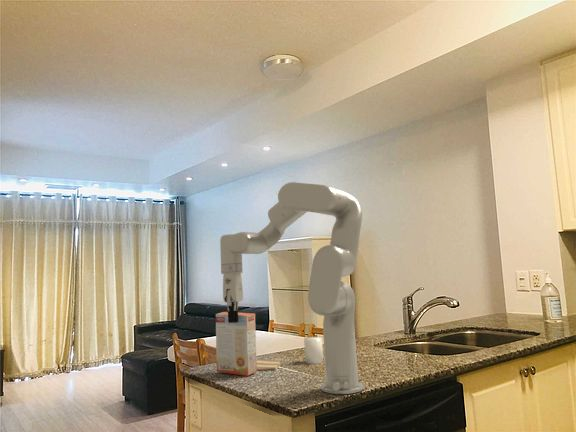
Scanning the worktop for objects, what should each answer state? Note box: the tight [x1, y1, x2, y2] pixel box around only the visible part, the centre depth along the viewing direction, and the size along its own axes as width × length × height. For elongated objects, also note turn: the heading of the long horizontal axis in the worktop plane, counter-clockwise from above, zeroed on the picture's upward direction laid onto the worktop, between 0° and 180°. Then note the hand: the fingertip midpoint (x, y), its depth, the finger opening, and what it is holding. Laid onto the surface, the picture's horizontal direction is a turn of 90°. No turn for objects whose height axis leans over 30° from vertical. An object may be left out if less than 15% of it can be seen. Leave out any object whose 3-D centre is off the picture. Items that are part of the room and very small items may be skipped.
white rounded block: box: [303, 336, 324, 365], centre depth 170 cm, size 7×7×9 cm
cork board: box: [256, 358, 283, 371], centre depth 167 cm, size 16×18×1 cm
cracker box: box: [215, 311, 258, 377], centre depth 156 cm, size 14×6×21 cm, turn 60°
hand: (233, 322), depth 151 cm, fingers closed
